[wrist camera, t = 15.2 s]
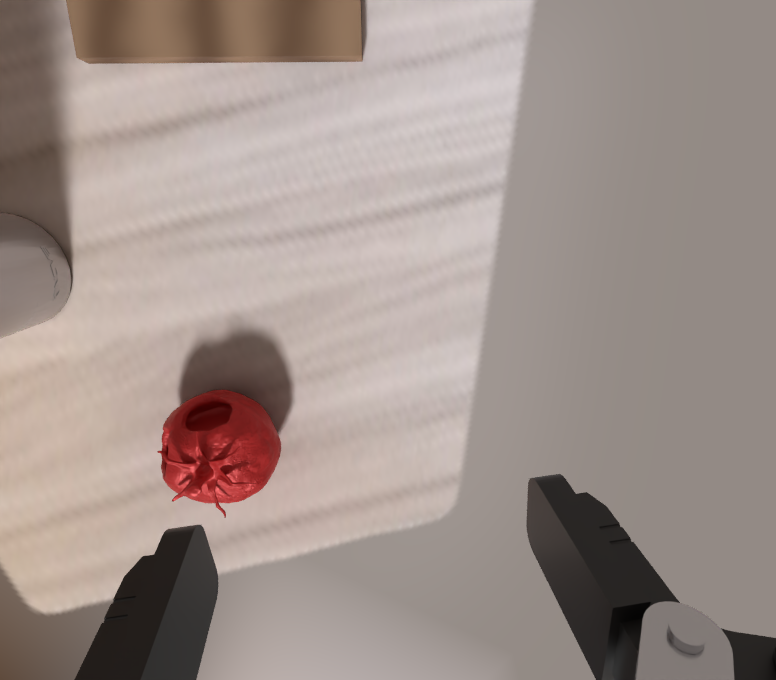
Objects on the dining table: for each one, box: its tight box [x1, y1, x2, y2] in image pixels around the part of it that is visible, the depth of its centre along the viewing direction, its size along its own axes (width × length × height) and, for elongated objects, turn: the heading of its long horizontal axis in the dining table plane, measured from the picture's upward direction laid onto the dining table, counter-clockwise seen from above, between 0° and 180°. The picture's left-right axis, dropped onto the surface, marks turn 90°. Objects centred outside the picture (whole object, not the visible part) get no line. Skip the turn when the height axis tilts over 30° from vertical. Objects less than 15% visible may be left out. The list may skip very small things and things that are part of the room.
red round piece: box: [158, 390, 281, 517], centre depth 39 cm, size 10×10×9 cm
